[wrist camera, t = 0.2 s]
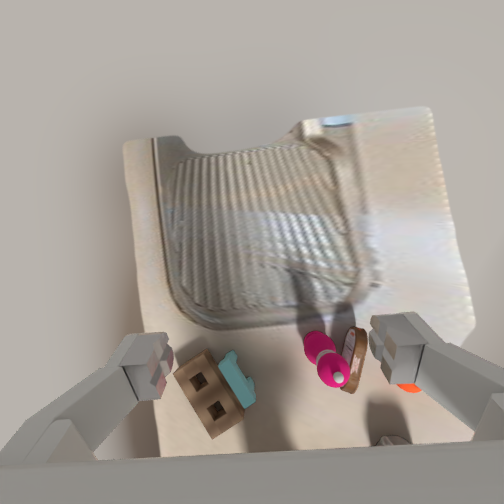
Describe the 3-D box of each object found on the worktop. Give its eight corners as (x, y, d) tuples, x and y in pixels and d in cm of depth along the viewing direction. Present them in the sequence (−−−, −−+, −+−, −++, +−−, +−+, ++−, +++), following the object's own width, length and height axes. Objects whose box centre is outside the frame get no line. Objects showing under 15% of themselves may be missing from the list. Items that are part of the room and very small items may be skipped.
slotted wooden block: (244, 409, 61) (243, 419, 57) (215, 428, 61) (212, 439, 57) (207, 348, 63) (203, 354, 59) (178, 367, 63) (172, 374, 59)
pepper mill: (295, 342, 62) (310, 379, 42) (315, 322, 62) (339, 349, 42) (316, 363, 61) (340, 410, 41) (336, 343, 61) (370, 380, 41)
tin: (344, 383, 60) (357, 402, 52) (332, 380, 61) (343, 398, 52) (358, 325, 61) (373, 334, 53) (346, 321, 61) (359, 330, 53)
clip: (256, 384, 62) (255, 401, 54) (247, 390, 62) (244, 409, 54) (233, 347, 62) (228, 359, 55) (223, 353, 63) (217, 366, 55)
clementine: (378, 359, 60) (393, 371, 53) (403, 346, 60) (421, 357, 53) (394, 388, 60) (412, 405, 53) (419, 375, 60) (440, 390, 52)
